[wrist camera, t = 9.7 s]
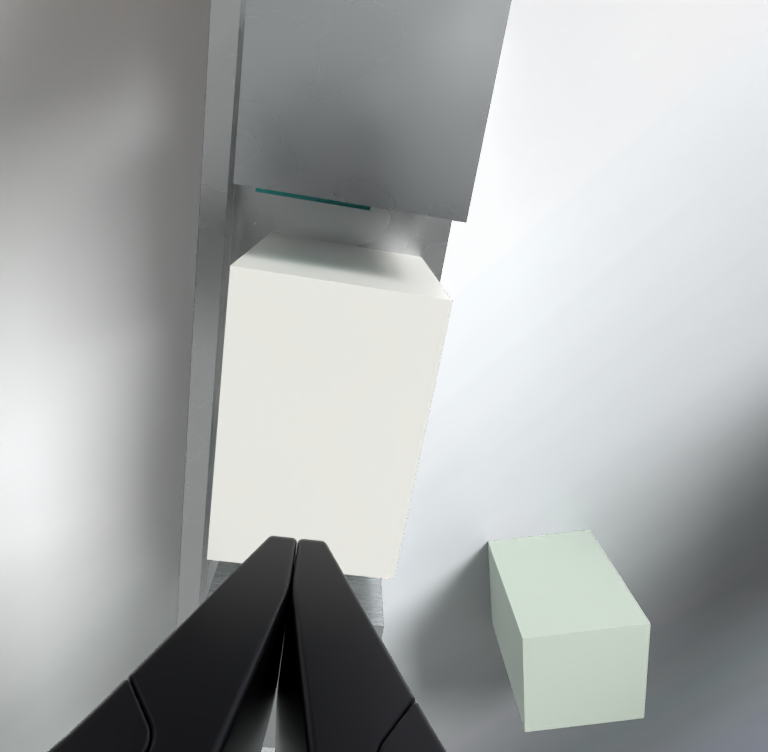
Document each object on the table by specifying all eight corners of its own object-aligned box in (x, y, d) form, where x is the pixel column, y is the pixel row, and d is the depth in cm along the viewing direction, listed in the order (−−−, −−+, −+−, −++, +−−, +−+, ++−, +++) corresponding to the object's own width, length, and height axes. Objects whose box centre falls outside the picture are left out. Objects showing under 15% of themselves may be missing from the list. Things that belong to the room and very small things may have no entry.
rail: (486, 5, 16) (578, -109, 10) (372, 602, 23) (378, 780, 17) (235, -47, 16) (145, -208, 9) (194, 584, 23) (125, 763, 16)
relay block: (589, 528, 23) (650, 623, 18) (587, 610, 24) (644, 718, 19) (487, 540, 23) (522, 638, 18) (491, 621, 24) (524, 732, 19)
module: (421, 256, 18) (452, 300, 12) (382, 465, 20) (392, 584, 14) (271, 232, 17) (229, 265, 11) (249, 449, 19) (206, 564, 14)
